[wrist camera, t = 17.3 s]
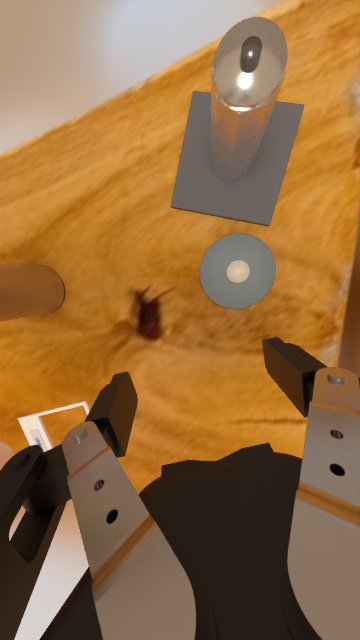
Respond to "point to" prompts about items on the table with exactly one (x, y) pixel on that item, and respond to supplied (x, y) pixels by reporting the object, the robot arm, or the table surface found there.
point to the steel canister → (244, 93)
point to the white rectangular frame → (37, 430)
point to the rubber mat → (244, 195)
